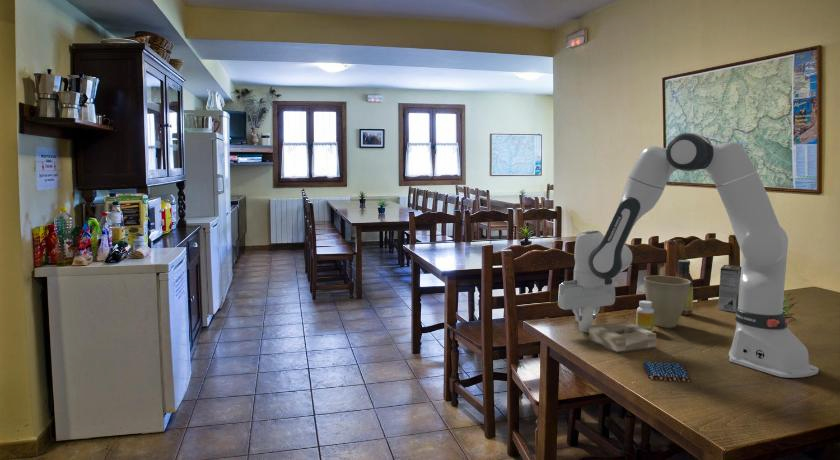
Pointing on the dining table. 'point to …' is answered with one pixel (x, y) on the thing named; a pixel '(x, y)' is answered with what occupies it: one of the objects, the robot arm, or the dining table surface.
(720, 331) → the dining table surface
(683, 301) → the plant pot
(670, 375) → the woven mat
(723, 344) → the dining table surface
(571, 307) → the robot arm
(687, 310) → the sauce bottle
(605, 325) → the socket block
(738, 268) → the coffee box
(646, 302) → the supplement bottle
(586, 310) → the cylinder
